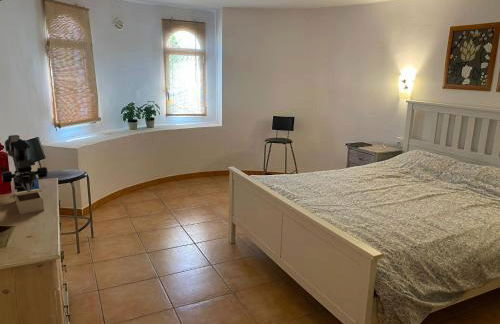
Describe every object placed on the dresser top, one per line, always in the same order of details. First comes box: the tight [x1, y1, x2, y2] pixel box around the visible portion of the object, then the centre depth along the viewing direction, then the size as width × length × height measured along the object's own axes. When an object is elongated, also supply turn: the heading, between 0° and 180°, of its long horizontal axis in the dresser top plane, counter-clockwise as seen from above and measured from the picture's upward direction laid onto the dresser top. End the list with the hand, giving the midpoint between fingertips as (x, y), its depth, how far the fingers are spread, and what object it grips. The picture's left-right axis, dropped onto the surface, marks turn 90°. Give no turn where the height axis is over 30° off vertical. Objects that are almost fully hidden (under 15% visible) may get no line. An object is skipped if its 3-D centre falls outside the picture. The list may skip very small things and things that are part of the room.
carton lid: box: [14, 183, 42, 195], centre depth 182 cm, size 14×10×5 cm
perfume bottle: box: [31, 176, 40, 190], centre depth 210 cm, size 6×6×12 cm
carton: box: [14, 192, 45, 216], centre depth 183 cm, size 14×10×6 cm
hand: (28, 189), depth 177 cm, fingers closed on carton lid
